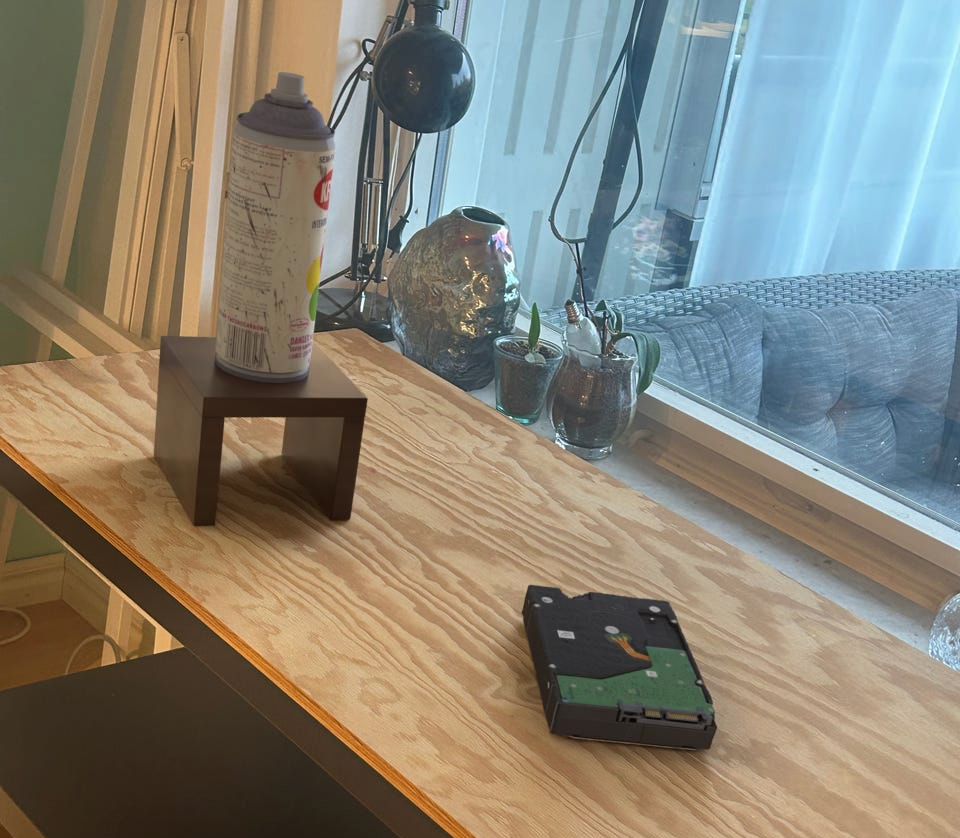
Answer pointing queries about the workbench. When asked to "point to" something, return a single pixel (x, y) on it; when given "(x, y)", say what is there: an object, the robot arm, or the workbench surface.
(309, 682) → the workbench surface
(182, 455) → the shelf
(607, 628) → the disk drive
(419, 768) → the workbench surface
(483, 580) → the workbench surface
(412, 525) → the workbench surface
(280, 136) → the aerosol can
